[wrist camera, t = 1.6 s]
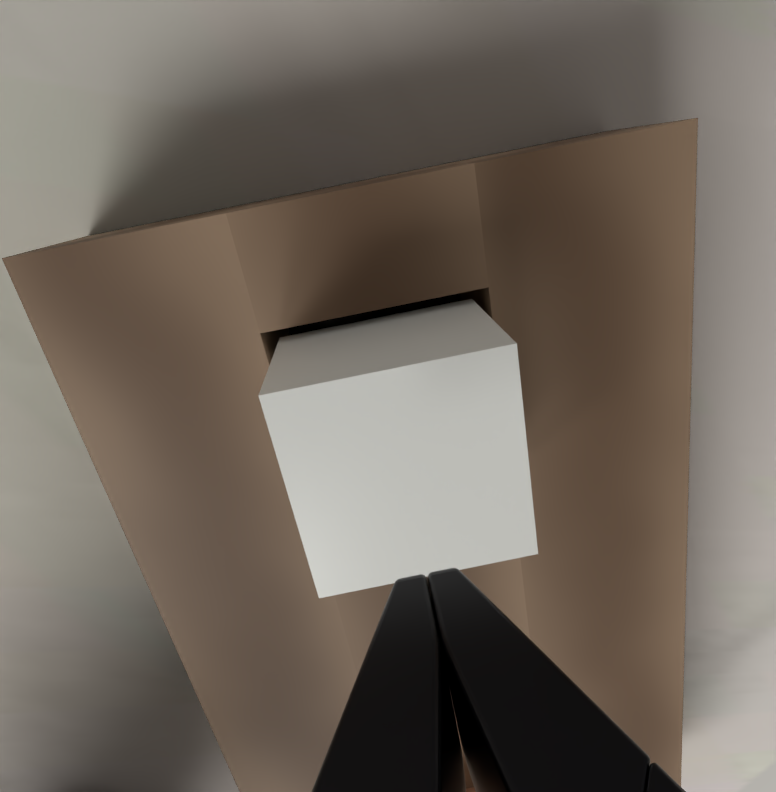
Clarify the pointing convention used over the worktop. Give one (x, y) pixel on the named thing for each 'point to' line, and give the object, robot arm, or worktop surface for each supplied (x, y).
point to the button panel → (367, 291)
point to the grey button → (402, 445)
